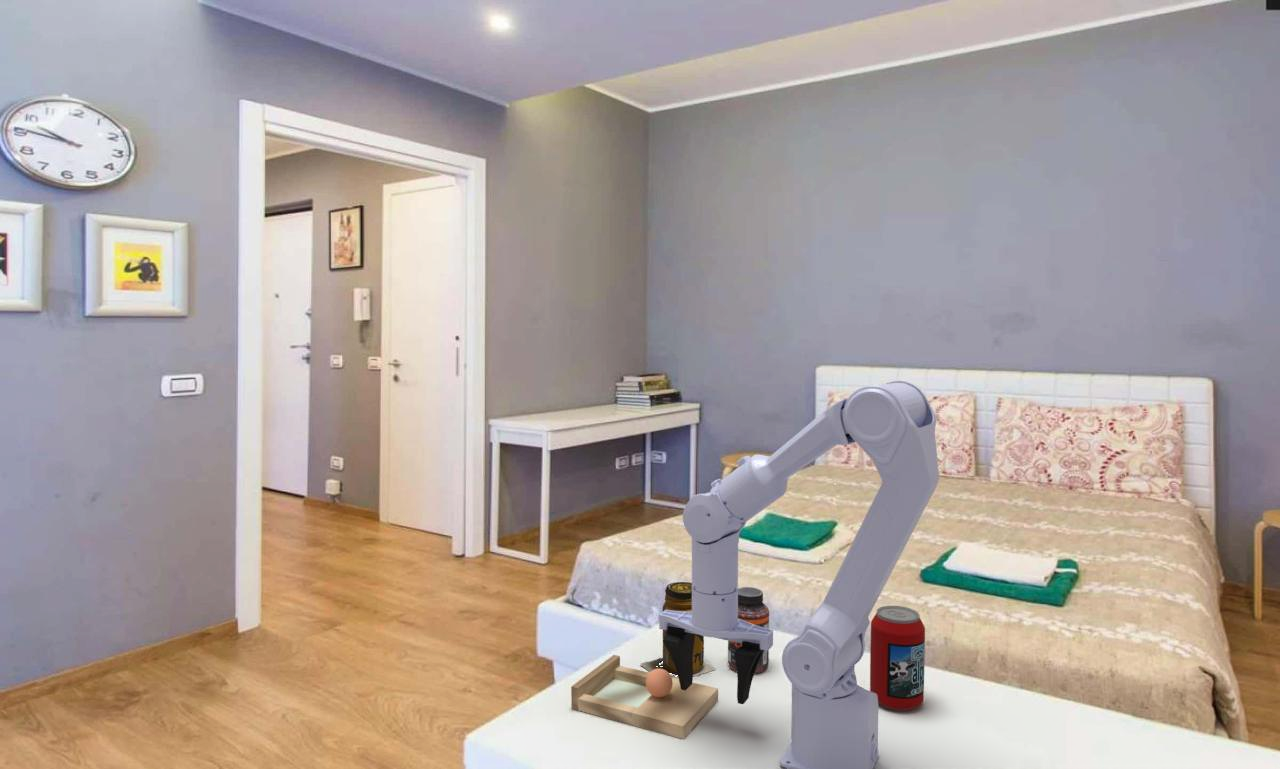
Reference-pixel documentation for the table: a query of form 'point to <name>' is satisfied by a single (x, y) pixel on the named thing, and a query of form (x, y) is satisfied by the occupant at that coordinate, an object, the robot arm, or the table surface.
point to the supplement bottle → (753, 613)
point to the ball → (659, 683)
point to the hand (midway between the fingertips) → (714, 693)
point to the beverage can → (897, 657)
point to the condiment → (675, 600)
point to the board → (641, 700)
